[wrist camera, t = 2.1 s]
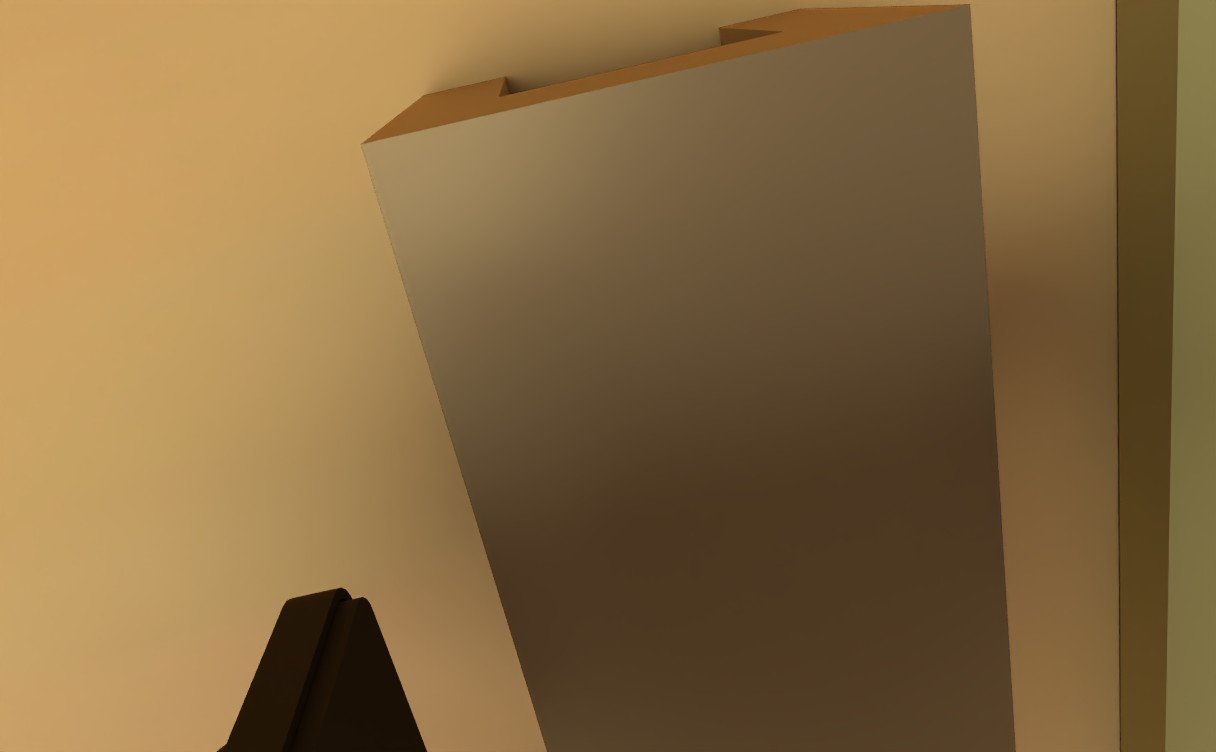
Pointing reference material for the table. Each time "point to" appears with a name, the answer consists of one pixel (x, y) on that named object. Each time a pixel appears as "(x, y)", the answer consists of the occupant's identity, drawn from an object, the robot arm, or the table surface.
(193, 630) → the table surface
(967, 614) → the plug housing
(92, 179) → the table surface
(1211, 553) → the pin board
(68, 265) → the table surface
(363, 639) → the robot arm
